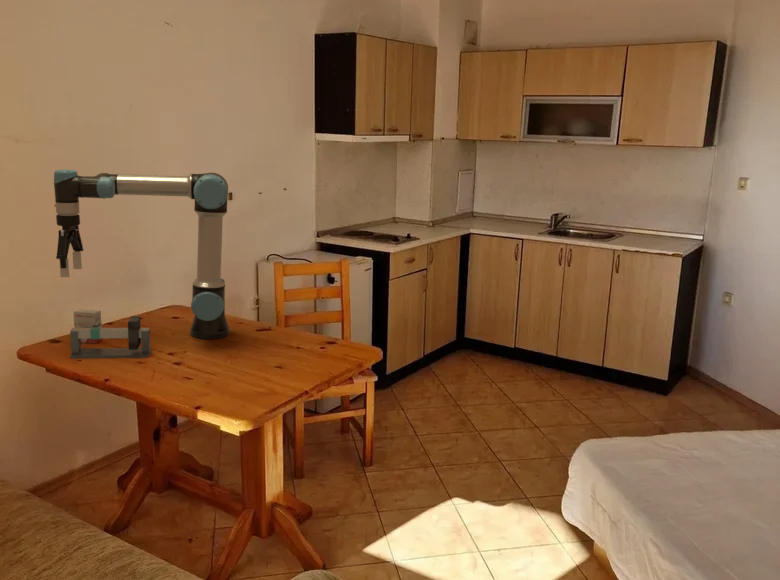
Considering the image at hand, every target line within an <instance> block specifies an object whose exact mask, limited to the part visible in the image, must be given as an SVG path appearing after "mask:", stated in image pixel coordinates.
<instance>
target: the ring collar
mask: <svg viewBox="0 0 780 580" xmlns="http://www.w3.org/2000/svg"><path fill="white" fill-rule="evenodd" d="M127 328H128V338H127V339H128V340H127V341H128V348H129V350H138V348H140V345H142V341H141V338H138V328H142V326H141V316H138V315H137V316H133V315H131V316H130V319H128V321H127Z"/></svg>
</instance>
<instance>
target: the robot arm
mask: <svg viewBox="0 0 780 580" xmlns="http://www.w3.org/2000/svg"><path fill="white" fill-rule="evenodd" d="M53 186H54V198H55V199H54V200H55V204H54V207H55V213H56V216H55V217H56V225H57V226H59V227H61V229H59V230H58V239H57V251H56V256H55V257H56V259H57V260H59V271H60V272H59V273H60V274H59V275H60V278H70V265H69V258H68V255H69V249H70V246H71V248H72V250H73V251H72V264H73V266H72V268H73V269H74V270H82V267H83V266H82V252H84V246H83V242H82V238H81V234H80V226H79V225H81V217H80V214H79V213H81V211H80V201H79V199H80V198H84V199H85V198H88V199H90V198H91V199H113V198H114V197H115V195H122V196H123V195H125V196H159V197H161V196H162V197H187V198H190V199H191V200H194V208H193V209H194V212H195V213H196V214H197V215H198V221H197V222H198V223H197V224H198V226H197V228H198V229H197V260H196V261H197V265H196V267H197V268H196V269H197V271H196V278H195V279H194V281H193V282H192V294H191V295H192V297H191V303H190V307H191V311H192V313H193V321H192V323H191V326H190V331H189V333H190V336H191V337H193V338H195V339H200V340H201V339H202V340H216V338H217V339H221V338H225V337H228V334H229V335H230V327H229V323H228V322H227V317H226V313H225V311H226V307H225V306H226V301H225V300H226V297H225V296H226V295H225V293H226V288H225V287H226V283H225V282H226V281H225V279H224V278H221V277H222V276H221V275H222V251H223V250H222V249H223V248H222V247H223V246H222V245H223V243H222V242H223V220H224V219H223V217H224V216H225V215H226V214H227V213H228V197H229V185H228V182H227V180H226V179H225V178H224V177H223V176H222V175H221V174H219V173H215V172H205V173H190V174H189V175H188V176H187V175H186V176H183V175H157V174H155V175H152V174H151V175H150V174H149V175H148V174H124V173H123V174H120V173H119V174H116V173H115V174H113V173H108V172H101V173H99V174H97V175H94V176H86V175H85V176H81V175H79V174H78V171H77V170H75V169H56V170H55V171H54V172H53ZM224 336H225V337H224Z"/></svg>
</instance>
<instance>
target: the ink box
mask: <svg viewBox="0 0 780 580" xmlns="http://www.w3.org/2000/svg"><path fill="white" fill-rule="evenodd" d="M73 324H74V325H73V326H74V327H73V328H92V327H101V328H103V327H102V310H94V309H93V310H92V309H82V308H81V309H77V310H75V311H73ZM101 341H103V338H100V339H91V338H84V339H81V343H85V344H86V343H88V344H97V343H100V342H101Z"/></svg>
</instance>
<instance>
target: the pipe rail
mask: <svg viewBox="0 0 780 580" xmlns="http://www.w3.org/2000/svg"><path fill="white" fill-rule="evenodd" d="M69 333H70V335H69V336H70V352H71V354H70V355H69V359H123V358H125V359H127V358H129V359H130V358H131V359H132V358H133V359H134V358H135V359H136V358H140V359H141V358H142V359H143V358H144V359H145V358H149V357H150V353H151V351H152V348H151V328H150V327H141V328H138V338H141V347H139V348H138V350H129V347H96V348H95V347H94V348H93V347H92V348H87V347H85V348H84V347H83V348H82V342H81V339H84V338H91V339H100V338H102V339H128V327H102V328H101V327H92V328H74V327H72V328H71V329H70V332H69Z"/></svg>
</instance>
